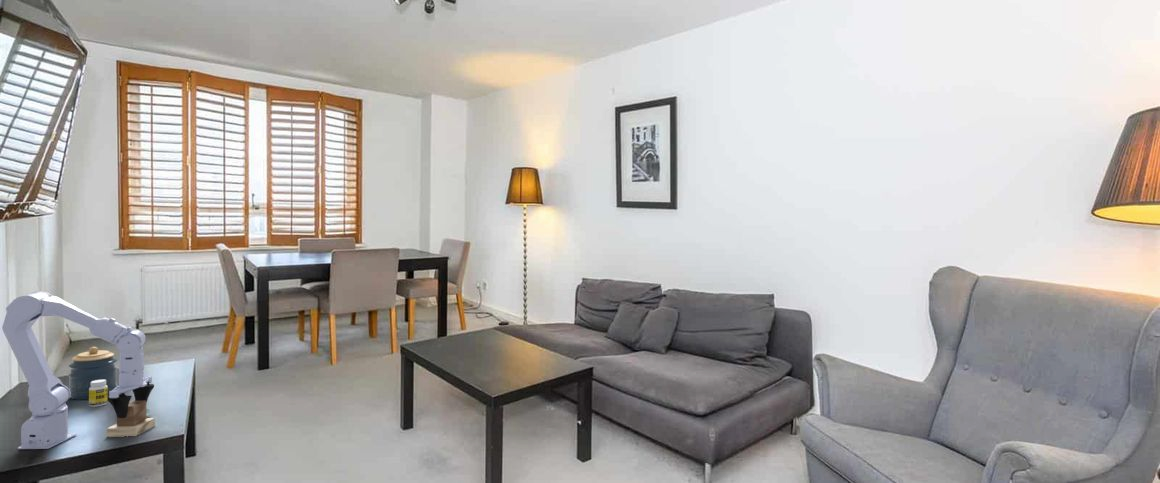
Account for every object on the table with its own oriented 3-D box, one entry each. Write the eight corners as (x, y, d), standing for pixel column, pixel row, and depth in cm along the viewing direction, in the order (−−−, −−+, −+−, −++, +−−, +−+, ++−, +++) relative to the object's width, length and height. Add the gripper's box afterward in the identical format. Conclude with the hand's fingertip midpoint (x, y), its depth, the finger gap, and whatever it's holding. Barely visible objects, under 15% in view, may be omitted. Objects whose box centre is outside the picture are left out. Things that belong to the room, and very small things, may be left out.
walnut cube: (134, 425, 157) (133, 406, 156) (116, 425, 156) (116, 406, 156) (146, 418, 162) (146, 400, 161) (129, 419, 161) (129, 400, 161)
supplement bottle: (95, 407, 176) (95, 383, 176) (85, 406, 177) (85, 382, 177) (111, 403, 181) (111, 379, 180) (100, 401, 182) (100, 378, 181)
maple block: (135, 437, 155) (135, 428, 155) (107, 438, 154) (107, 428, 154) (154, 427, 163) (154, 418, 163) (127, 427, 162) (127, 418, 162)
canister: (90, 401, 181) (90, 352, 181) (58, 398, 183) (58, 350, 182) (126, 389, 194) (126, 343, 194) (96, 387, 196) (96, 341, 195)
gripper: (127, 377, 151) (127, 422, 152) (162, 363, 166) (162, 404, 166) (101, 377, 150) (101, 422, 151) (138, 363, 165) (138, 404, 165)
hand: (131, 413), depth 159 cm, fingers open, 7 cm apart
